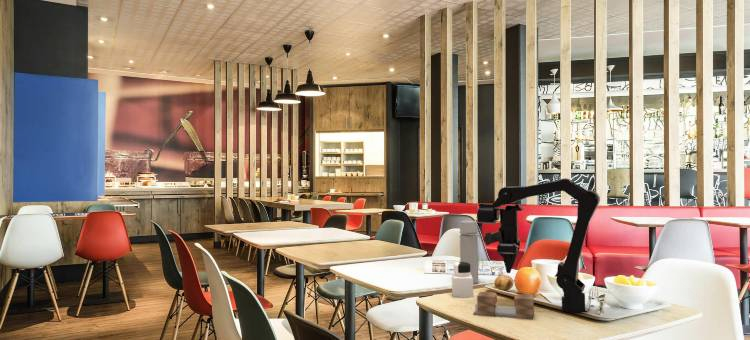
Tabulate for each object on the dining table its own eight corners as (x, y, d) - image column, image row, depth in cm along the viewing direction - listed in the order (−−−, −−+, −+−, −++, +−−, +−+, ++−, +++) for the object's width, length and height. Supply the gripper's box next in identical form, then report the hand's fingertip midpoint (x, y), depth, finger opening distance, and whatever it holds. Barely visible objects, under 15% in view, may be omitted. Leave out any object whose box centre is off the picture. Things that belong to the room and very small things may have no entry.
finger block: (497, 311, 162) (496, 292, 162) (495, 316, 157) (494, 297, 157) (480, 310, 164) (479, 291, 164) (477, 315, 158) (477, 295, 158)
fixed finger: (533, 314, 158) (533, 294, 159) (533, 319, 153) (532, 299, 153) (515, 312, 160) (515, 293, 160) (514, 318, 155) (514, 298, 155)
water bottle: (460, 284, 206) (459, 222, 206) (460, 280, 213) (459, 220, 213) (483, 285, 204) (482, 222, 204) (482, 280, 212) (481, 220, 212)
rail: (533, 316, 158) (533, 306, 158) (533, 322, 153) (532, 311, 153) (475, 312, 165) (475, 302, 165) (472, 317, 159) (472, 307, 159)
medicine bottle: (471, 292, 191) (470, 260, 191) (473, 297, 184) (472, 264, 184) (452, 292, 192) (451, 260, 192) (453, 297, 185) (452, 264, 185)
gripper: (488, 220, 183) (488, 264, 183) (480, 226, 166) (481, 274, 166) (520, 221, 179) (521, 265, 179) (516, 227, 162) (517, 276, 162)
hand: (509, 270), depth 172 cm, fingers open, 9 cm apart
